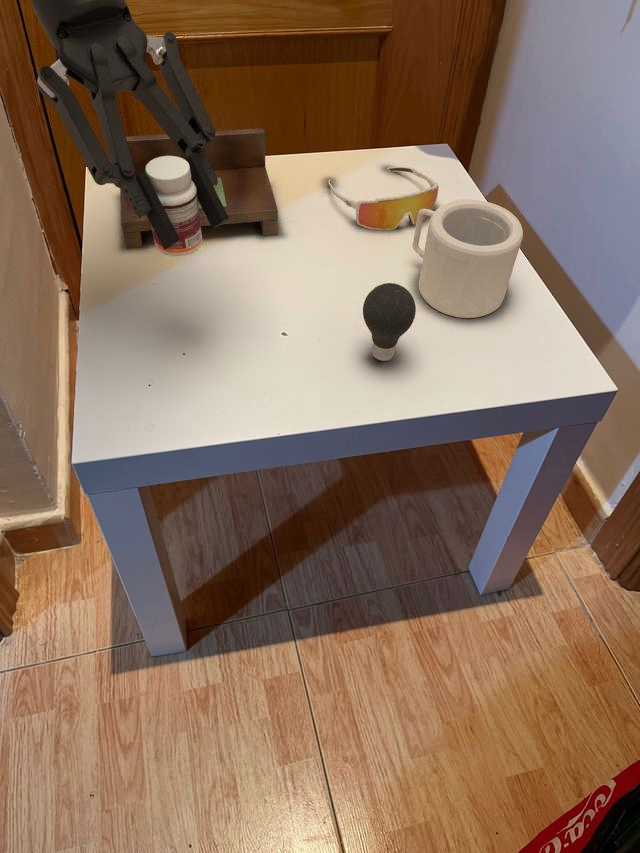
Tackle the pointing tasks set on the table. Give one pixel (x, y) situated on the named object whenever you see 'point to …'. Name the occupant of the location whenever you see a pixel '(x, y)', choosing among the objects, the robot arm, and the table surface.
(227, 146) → the shelf
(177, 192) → the pill bottle
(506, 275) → the mug
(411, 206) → the sunglasses
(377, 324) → the light bulb
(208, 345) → the table surface
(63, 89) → the robot arm
